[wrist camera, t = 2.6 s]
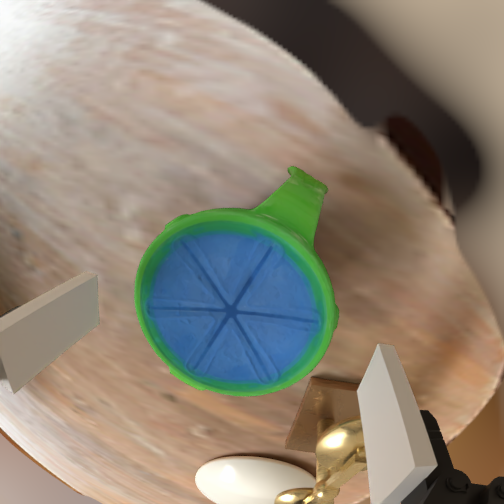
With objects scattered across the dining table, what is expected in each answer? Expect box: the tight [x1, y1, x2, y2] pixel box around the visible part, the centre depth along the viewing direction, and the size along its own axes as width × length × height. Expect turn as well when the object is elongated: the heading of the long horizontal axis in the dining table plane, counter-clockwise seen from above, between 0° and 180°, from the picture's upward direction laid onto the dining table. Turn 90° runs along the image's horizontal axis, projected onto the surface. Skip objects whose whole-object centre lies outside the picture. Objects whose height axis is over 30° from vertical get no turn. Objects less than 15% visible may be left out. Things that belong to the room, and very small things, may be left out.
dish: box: [195, 456, 316, 504], centre depth 32 cm, size 17×17×1 cm
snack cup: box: [134, 166, 339, 396], centre depth 20 cm, size 16×10×10 cm
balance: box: [274, 377, 368, 504], centre depth 22 cm, size 6×20×11 cm, turn 170°
